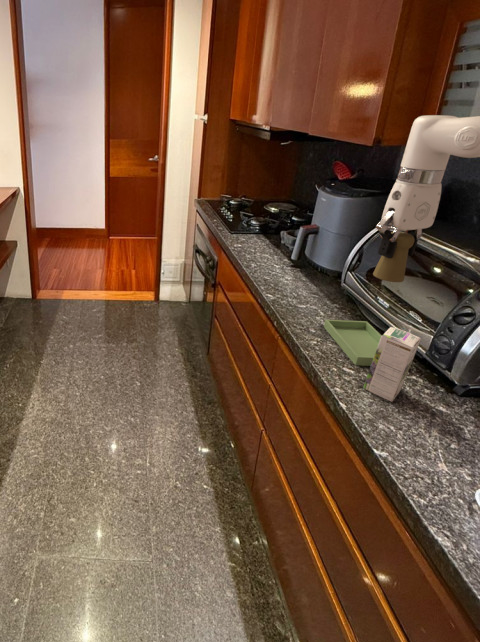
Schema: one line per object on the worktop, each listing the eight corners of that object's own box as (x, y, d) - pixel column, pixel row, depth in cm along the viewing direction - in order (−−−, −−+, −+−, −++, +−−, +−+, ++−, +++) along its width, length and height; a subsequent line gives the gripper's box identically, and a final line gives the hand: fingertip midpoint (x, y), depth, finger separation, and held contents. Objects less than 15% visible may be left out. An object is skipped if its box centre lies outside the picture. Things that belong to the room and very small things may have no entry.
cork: (397, 273, 94) (411, 230, 90) (408, 283, 88) (424, 238, 84) (368, 270, 95) (381, 227, 91) (378, 280, 90) (392, 235, 86)
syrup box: (371, 378, 90) (388, 325, 85) (401, 391, 86) (422, 336, 81) (362, 388, 87) (380, 334, 82) (393, 403, 83) (414, 347, 77)
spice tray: (403, 368, 94) (406, 359, 93) (355, 365, 95) (357, 357, 94) (364, 328, 110) (367, 321, 109) (323, 327, 110) (325, 319, 110)
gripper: (405, 182, 77) (380, 264, 84) (468, 177, 81) (439, 257, 88) (371, 175, 84) (351, 252, 91) (431, 171, 88) (407, 245, 95)
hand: (395, 254), depth 90 cm, fingers closed on cork, 5 cm apart
